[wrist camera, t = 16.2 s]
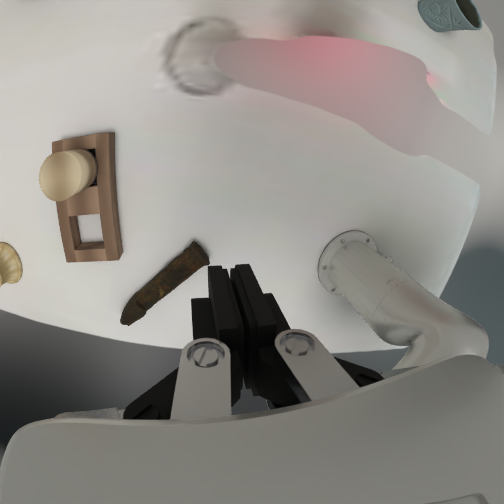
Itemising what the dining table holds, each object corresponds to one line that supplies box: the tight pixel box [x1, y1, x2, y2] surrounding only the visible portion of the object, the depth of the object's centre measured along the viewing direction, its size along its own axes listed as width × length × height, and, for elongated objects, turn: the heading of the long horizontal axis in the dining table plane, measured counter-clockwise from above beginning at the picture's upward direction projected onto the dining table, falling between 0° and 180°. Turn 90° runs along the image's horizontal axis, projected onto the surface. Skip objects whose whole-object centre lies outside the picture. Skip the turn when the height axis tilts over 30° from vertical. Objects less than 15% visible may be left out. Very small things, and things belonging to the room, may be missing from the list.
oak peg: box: [39, 149, 97, 201], centre depth 28 cm, size 6×6×10 cm
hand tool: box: [120, 242, 210, 326], centre depth 40 cm, size 19×4×5 cm, turn 124°
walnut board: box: [52, 132, 123, 262], centre depth 33 cm, size 9×18×3 cm, turn 177°
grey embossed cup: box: [418, 0, 482, 32], centre depth 24 cm, size 10×10×12 cm
